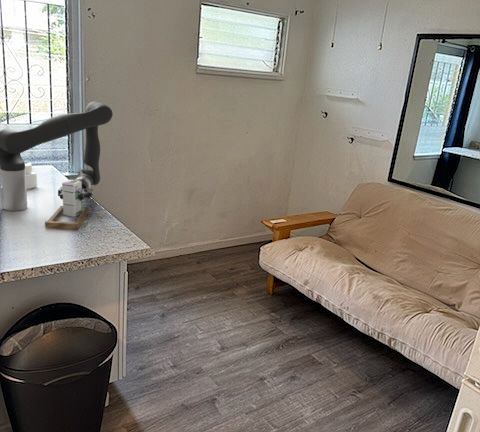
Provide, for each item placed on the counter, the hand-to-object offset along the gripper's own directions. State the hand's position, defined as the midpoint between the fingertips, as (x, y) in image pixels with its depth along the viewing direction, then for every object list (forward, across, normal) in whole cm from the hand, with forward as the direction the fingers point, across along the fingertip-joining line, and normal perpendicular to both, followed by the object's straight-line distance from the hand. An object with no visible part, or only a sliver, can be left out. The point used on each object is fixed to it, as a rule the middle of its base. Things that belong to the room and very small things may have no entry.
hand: (71, 197), depth 184 cm
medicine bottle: (-35, -30, +8) cm, 47 cm away
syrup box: (-2, 0, +8) cm, 8 cm away
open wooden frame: (+5, +1, +8) cm, 9 cm away
